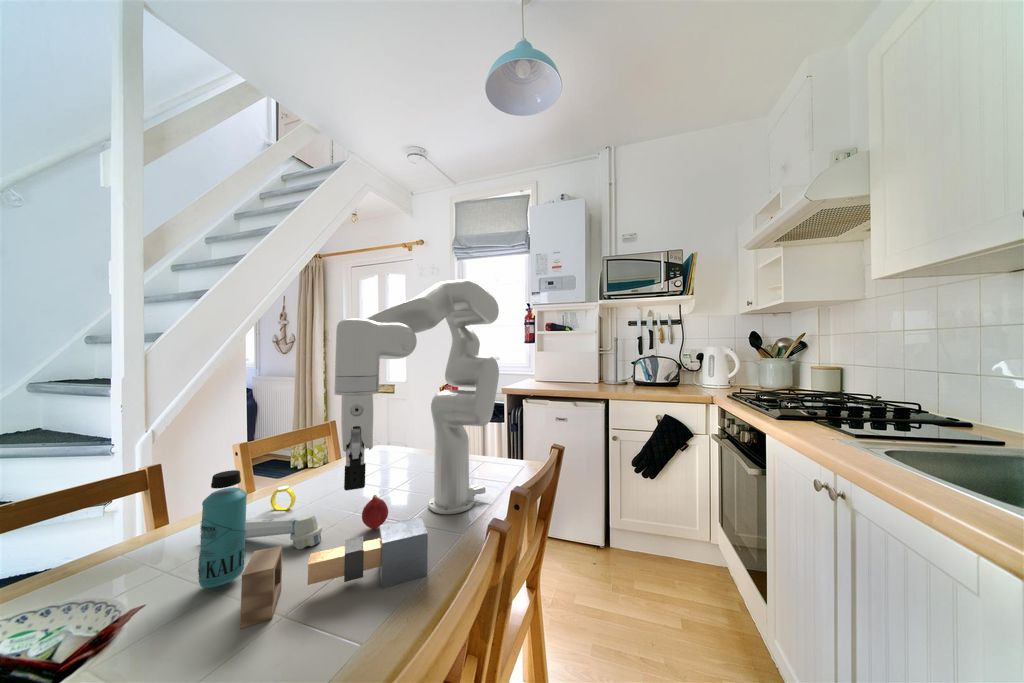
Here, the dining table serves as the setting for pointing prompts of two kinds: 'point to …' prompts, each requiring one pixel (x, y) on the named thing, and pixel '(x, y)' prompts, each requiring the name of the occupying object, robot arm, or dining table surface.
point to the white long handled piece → (287, 529)
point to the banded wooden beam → (345, 560)
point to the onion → (374, 513)
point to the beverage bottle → (223, 531)
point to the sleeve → (403, 551)
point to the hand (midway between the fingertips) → (354, 479)
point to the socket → (261, 586)
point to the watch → (282, 489)
